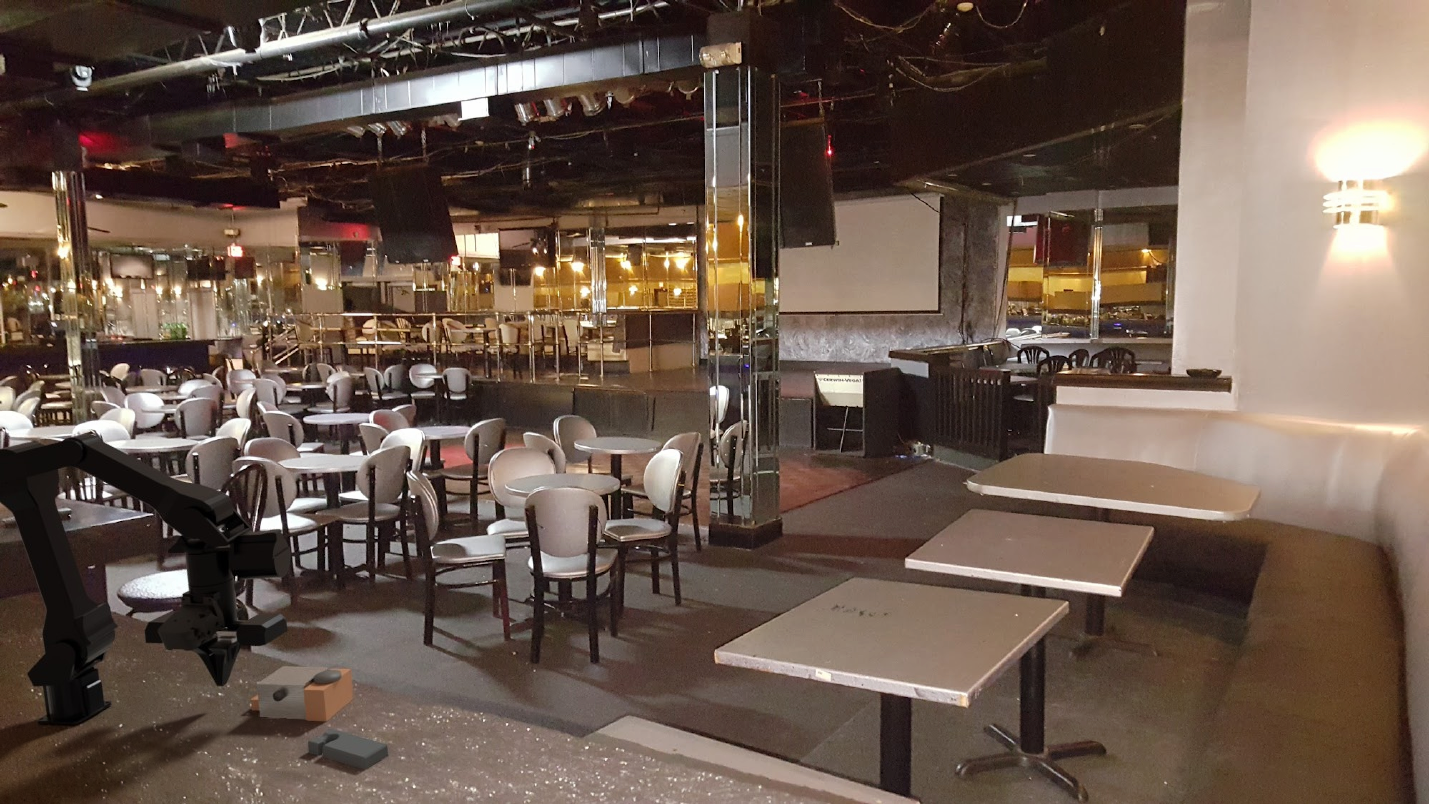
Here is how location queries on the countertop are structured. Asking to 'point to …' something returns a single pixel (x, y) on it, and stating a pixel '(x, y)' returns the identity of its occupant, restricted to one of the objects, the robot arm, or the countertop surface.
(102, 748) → the countertop surface
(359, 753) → the bracket
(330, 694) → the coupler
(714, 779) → the countertop surface
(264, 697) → the grey cube with knob
